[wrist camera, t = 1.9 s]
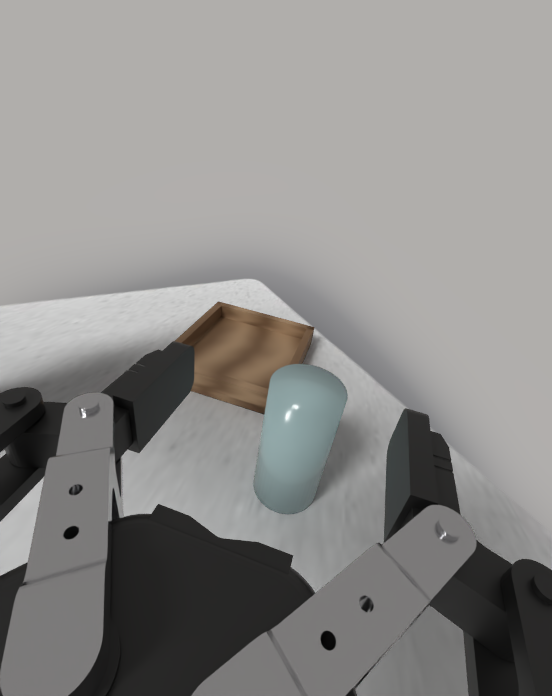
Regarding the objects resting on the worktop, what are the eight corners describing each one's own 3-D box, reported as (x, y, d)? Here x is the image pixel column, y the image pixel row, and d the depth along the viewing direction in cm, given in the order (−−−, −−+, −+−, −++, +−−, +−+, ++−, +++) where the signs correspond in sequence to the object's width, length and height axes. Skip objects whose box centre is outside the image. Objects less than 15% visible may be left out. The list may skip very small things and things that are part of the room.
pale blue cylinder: (243, 500, 31) (258, 399, 25) (264, 450, 36) (282, 356, 30) (308, 523, 30) (342, 425, 24) (321, 469, 35) (351, 376, 29)
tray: (155, 379, 43) (154, 359, 41) (217, 317, 58) (218, 301, 56) (278, 418, 40) (282, 399, 39) (310, 343, 55) (314, 327, 53)
